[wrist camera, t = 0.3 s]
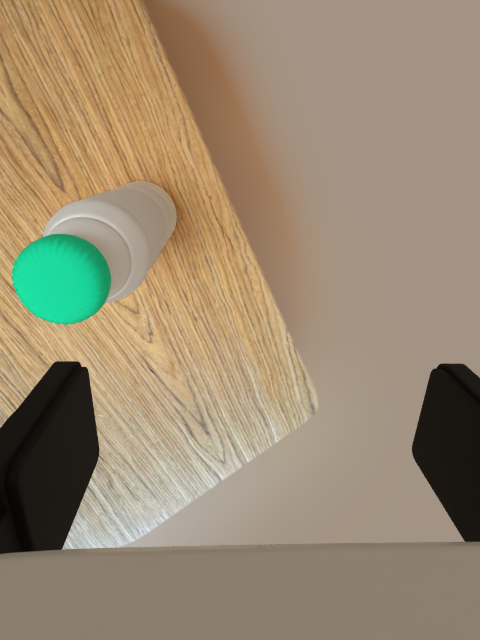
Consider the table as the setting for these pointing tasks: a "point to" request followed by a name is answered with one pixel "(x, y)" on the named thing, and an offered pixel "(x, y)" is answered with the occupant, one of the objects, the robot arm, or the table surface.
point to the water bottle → (94, 252)
